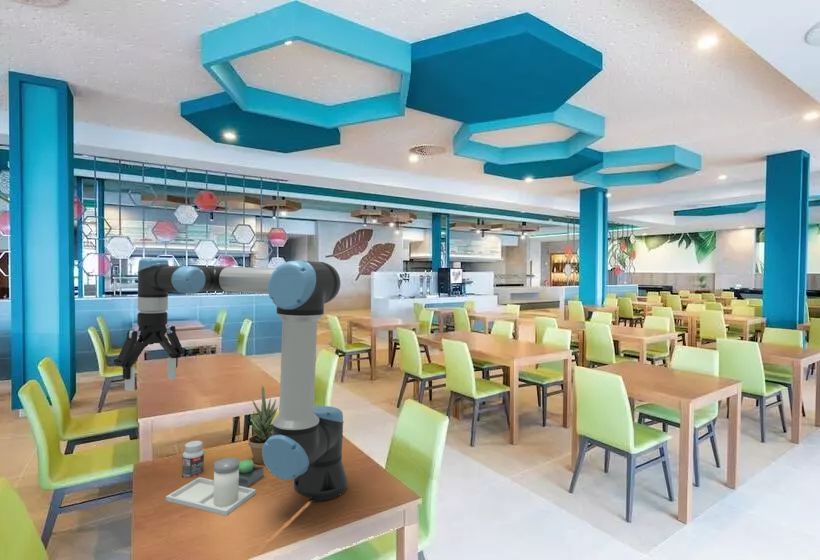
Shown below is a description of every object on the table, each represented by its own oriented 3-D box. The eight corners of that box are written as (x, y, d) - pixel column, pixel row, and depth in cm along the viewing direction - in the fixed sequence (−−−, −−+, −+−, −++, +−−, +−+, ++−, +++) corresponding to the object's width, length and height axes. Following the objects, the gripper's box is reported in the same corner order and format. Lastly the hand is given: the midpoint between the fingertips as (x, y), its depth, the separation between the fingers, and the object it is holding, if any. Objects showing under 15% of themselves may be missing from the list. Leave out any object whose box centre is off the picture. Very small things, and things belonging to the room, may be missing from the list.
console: (263, 480, 129) (263, 467, 128) (247, 492, 122) (247, 478, 122) (243, 476, 131) (243, 463, 131) (226, 487, 124) (227, 473, 124)
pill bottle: (194, 482, 126) (195, 448, 126) (177, 480, 127) (178, 446, 127) (207, 473, 132) (208, 441, 132) (191, 471, 133) (191, 439, 133)
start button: (256, 467, 127) (256, 460, 127) (246, 473, 124) (247, 466, 124) (244, 465, 129) (244, 458, 129) (235, 471, 125) (235, 464, 125)
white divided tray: (258, 497, 120) (259, 488, 120) (225, 522, 107) (225, 513, 107) (199, 483, 126) (200, 475, 126) (161, 506, 113) (161, 497, 113)
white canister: (243, 496, 117) (244, 459, 117) (227, 508, 111) (228, 469, 111) (224, 492, 119) (225, 456, 119) (207, 503, 113) (208, 465, 113)
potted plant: (254, 453, 147) (256, 380, 147) (282, 454, 147) (284, 381, 146) (242, 466, 137) (244, 388, 137) (272, 467, 137) (274, 389, 136)
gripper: (178, 307, 140) (177, 373, 140) (100, 314, 116) (99, 394, 117) (197, 309, 137) (195, 376, 138) (120, 316, 114) (119, 397, 114)
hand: (151, 384), depth 127 cm, fingers open, 13 cm apart
